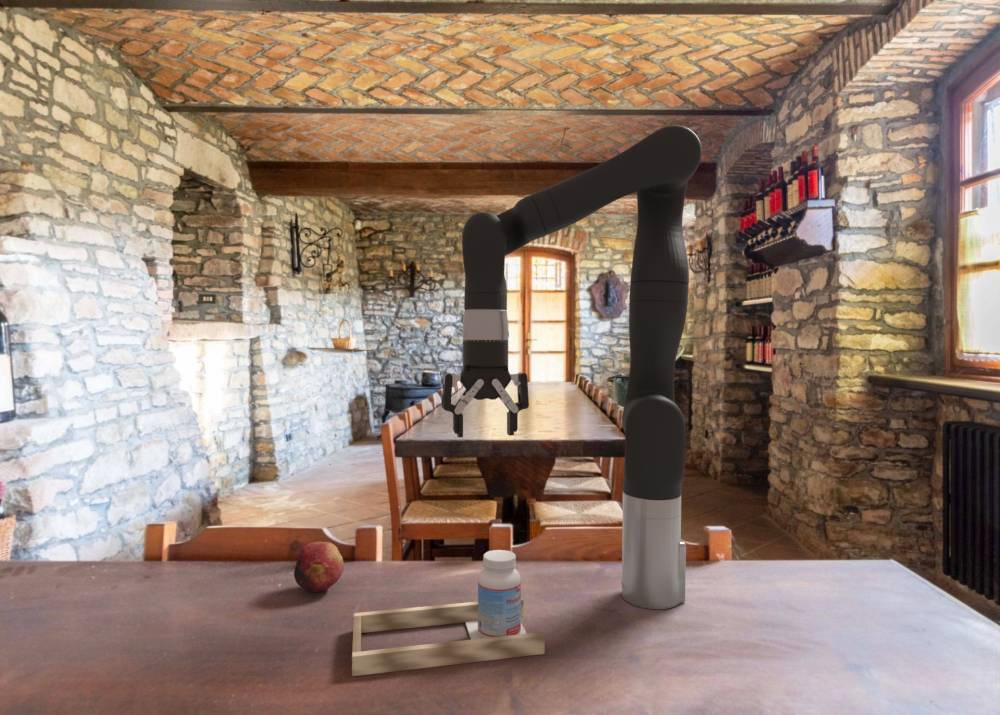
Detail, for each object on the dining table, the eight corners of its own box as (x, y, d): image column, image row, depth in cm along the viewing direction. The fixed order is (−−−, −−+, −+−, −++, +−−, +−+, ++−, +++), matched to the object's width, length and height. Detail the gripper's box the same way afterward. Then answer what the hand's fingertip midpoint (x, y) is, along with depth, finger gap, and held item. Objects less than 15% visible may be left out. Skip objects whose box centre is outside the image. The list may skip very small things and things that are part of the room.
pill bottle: (516, 646, 81) (516, 564, 80) (473, 641, 82) (473, 561, 82) (524, 625, 87) (524, 549, 86) (483, 621, 88) (483, 546, 87)
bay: (521, 613, 91) (521, 597, 91) (544, 653, 79) (544, 635, 79) (354, 630, 86) (354, 613, 86) (352, 676, 74) (352, 656, 74)
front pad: (517, 618, 89) (517, 616, 89) (534, 648, 81) (534, 646, 81) (465, 623, 88) (465, 621, 88) (476, 655, 79) (476, 653, 79)
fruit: (349, 593, 98) (349, 545, 98) (302, 605, 94) (302, 555, 93) (334, 578, 104) (333, 533, 104) (289, 588, 100) (288, 541, 100)
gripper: (521, 338, 103) (521, 431, 103) (439, 337, 100) (439, 433, 100) (533, 338, 96) (532, 438, 96) (445, 337, 93) (445, 441, 93)
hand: (485, 435), depth 98 cm, fingers open, 8 cm apart
